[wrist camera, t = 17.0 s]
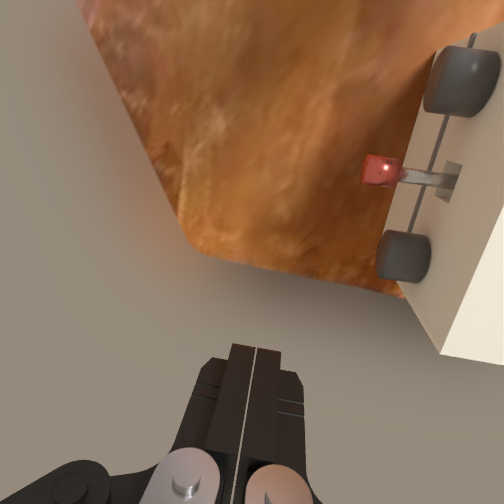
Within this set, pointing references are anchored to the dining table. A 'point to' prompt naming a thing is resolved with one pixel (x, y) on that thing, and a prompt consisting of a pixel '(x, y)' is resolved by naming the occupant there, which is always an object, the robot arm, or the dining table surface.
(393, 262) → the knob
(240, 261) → the dining table surface
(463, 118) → the panel
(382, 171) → the red capped lever stalk
